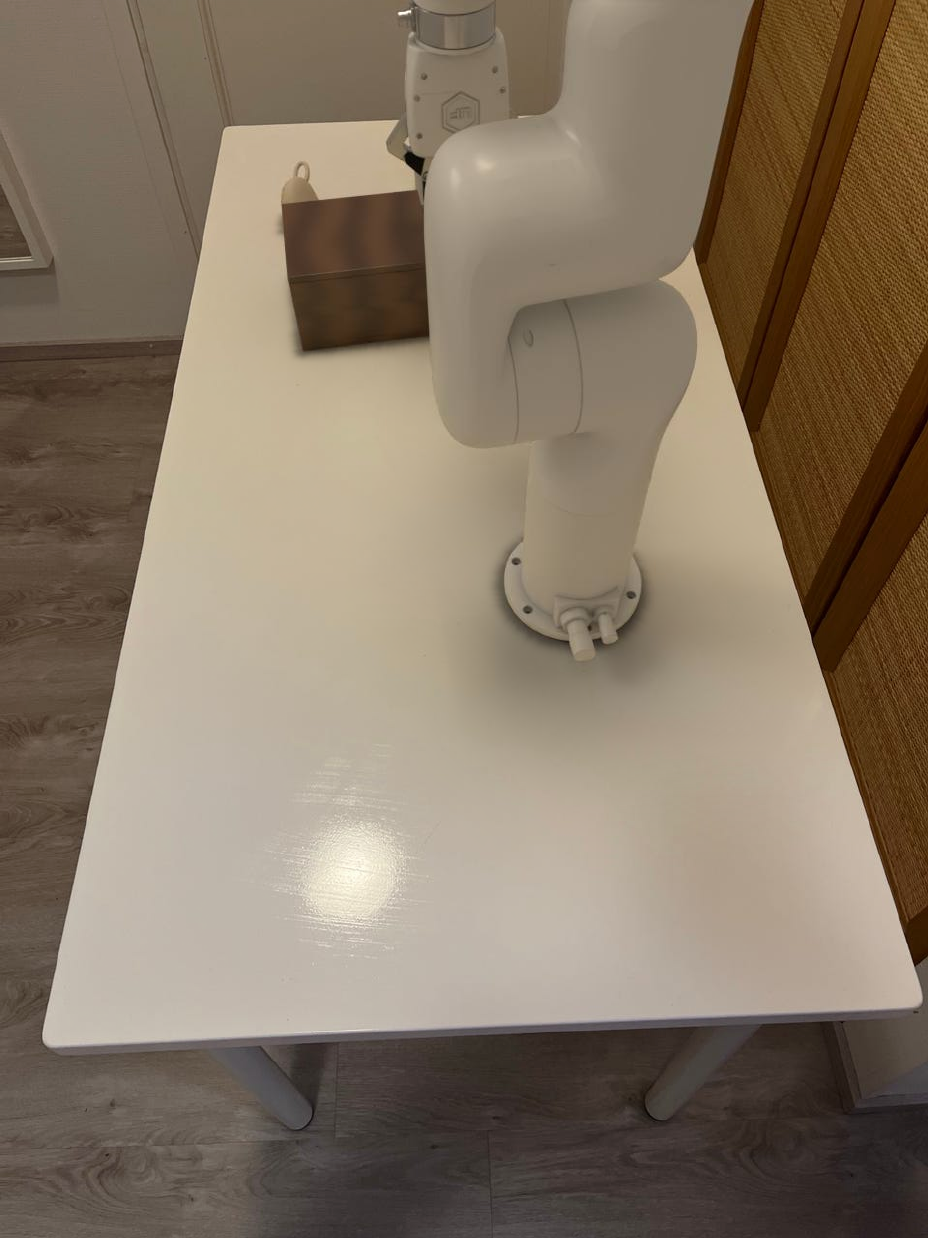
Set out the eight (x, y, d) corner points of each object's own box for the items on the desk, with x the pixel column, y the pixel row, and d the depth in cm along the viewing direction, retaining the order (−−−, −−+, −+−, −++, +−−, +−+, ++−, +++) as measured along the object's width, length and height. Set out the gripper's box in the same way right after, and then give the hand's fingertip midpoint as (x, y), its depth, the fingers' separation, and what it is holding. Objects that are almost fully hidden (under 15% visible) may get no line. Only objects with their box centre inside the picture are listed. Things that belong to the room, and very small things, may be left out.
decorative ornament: (277, 234, 112) (269, 194, 107) (300, 197, 116) (293, 158, 112) (307, 238, 111) (300, 198, 107) (329, 201, 116) (322, 161, 111)
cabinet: (422, 263, 108) (417, 189, 100) (437, 334, 101) (434, 260, 93) (296, 277, 107) (281, 203, 99) (302, 350, 100) (287, 277, 92)
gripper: (366, 47, 77) (385, 235, 93) (554, 29, 79) (541, 218, 94) (358, 9, 81) (377, 195, 97) (537, -7, 83) (528, 179, 98)
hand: (458, 205), depth 95 cm, fingers closed on figurine, 4 cm apart
